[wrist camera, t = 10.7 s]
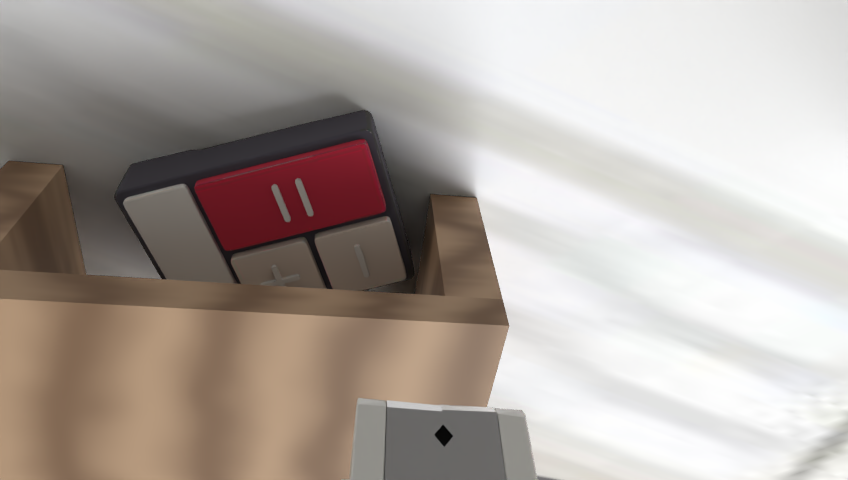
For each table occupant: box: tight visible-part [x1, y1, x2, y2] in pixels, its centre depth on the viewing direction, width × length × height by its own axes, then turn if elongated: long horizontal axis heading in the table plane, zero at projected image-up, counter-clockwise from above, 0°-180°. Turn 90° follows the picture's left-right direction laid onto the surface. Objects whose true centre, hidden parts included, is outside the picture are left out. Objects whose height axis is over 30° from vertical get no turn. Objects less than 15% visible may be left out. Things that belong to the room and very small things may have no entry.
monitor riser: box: [0, 161, 509, 480], centre depth 39 cm, size 28×16×12 cm, turn 83°
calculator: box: [114, 110, 414, 291], centre depth 40 cm, size 11×4×15 cm
